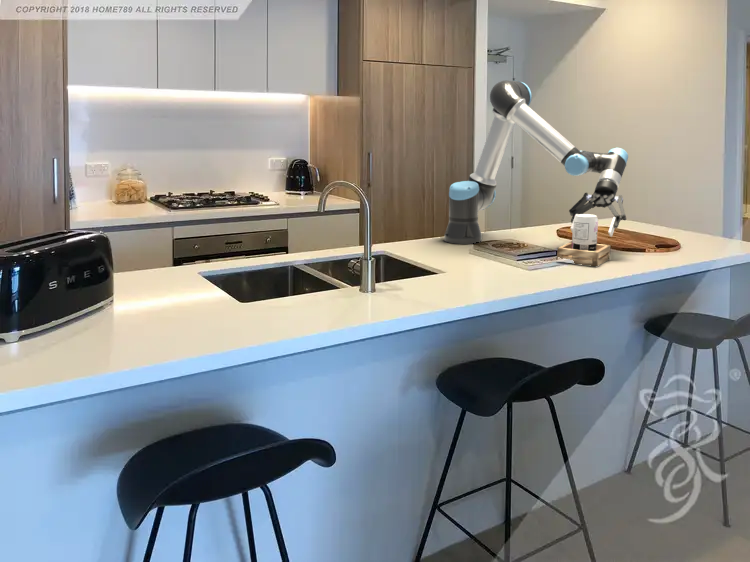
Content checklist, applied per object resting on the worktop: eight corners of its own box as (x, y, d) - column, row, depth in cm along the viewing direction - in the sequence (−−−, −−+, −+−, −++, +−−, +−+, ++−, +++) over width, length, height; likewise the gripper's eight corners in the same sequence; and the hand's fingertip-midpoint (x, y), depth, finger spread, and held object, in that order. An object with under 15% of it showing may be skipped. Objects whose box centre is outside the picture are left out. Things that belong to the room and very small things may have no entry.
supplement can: (567, 255, 248) (570, 214, 245) (590, 255, 249) (593, 213, 245) (576, 260, 241) (578, 217, 237) (599, 259, 241) (602, 217, 238)
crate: (556, 262, 243) (557, 248, 242) (570, 254, 254) (571, 241, 253) (596, 267, 236) (597, 252, 234) (609, 259, 247) (610, 245, 245)
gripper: (644, 193, 250) (628, 242, 242) (576, 189, 264) (559, 235, 257) (641, 180, 245) (624, 229, 237) (572, 177, 259) (554, 223, 251)
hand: (590, 232), depth 247 cm, fingers open, 13 cm apart
